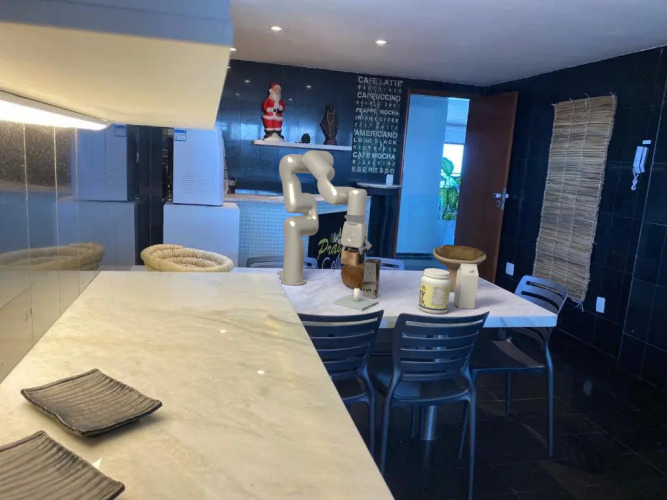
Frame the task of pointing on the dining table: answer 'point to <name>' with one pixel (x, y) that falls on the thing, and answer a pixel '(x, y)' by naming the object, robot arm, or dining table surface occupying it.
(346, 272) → the bread
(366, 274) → the coffee box
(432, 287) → the supplement tub
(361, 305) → the post plate
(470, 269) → the milk carton
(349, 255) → the collar
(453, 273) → the bowl
